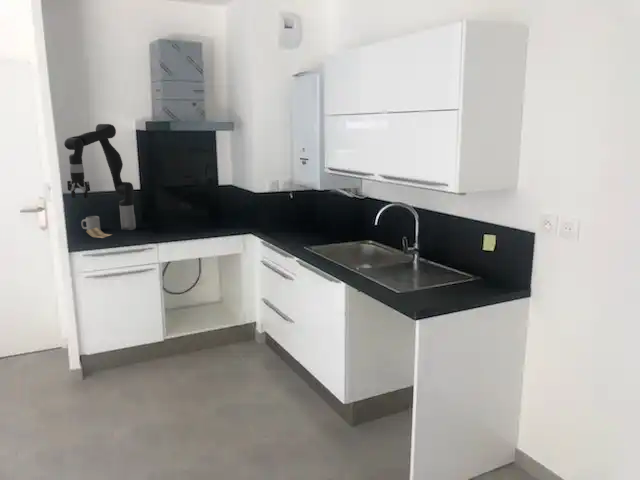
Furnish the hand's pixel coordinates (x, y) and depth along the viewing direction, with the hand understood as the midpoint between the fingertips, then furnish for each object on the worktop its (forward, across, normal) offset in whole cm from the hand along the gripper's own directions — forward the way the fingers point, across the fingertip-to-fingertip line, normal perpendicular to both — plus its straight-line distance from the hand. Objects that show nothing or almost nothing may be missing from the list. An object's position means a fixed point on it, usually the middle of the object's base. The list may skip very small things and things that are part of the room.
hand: (79, 198), depth 321 cm
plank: (+27, +6, -18) cm, 32 cm away
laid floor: (+29, +3, -18) cm, 34 cm away
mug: (+30, +17, -28) cm, 44 cm away
